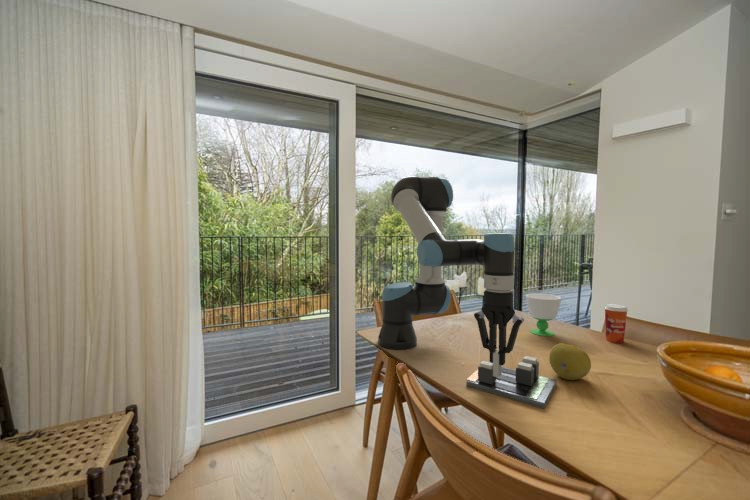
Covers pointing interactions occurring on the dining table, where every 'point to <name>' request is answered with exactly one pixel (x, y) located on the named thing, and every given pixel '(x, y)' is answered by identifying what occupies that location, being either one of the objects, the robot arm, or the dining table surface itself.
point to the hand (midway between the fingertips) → (497, 375)
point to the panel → (516, 388)
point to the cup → (543, 311)
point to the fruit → (569, 361)
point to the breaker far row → (534, 364)
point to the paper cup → (615, 322)
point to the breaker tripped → (486, 372)
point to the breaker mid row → (525, 373)
